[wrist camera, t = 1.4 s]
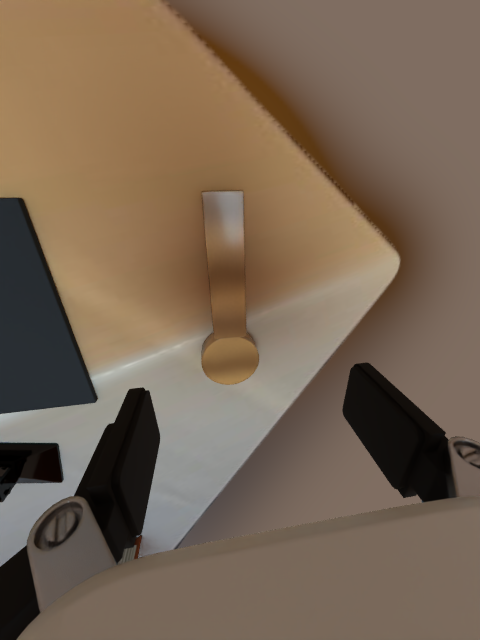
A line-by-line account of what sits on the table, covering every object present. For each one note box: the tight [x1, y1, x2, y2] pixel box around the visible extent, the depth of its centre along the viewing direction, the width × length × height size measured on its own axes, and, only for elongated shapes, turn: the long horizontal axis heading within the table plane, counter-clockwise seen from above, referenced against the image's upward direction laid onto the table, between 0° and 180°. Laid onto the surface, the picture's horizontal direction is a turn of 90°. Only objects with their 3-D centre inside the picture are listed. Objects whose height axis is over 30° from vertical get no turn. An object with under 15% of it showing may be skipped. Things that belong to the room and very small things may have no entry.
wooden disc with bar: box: [202, 190, 259, 385], centre depth 22 cm, size 18×6×3 cm, turn 2°
